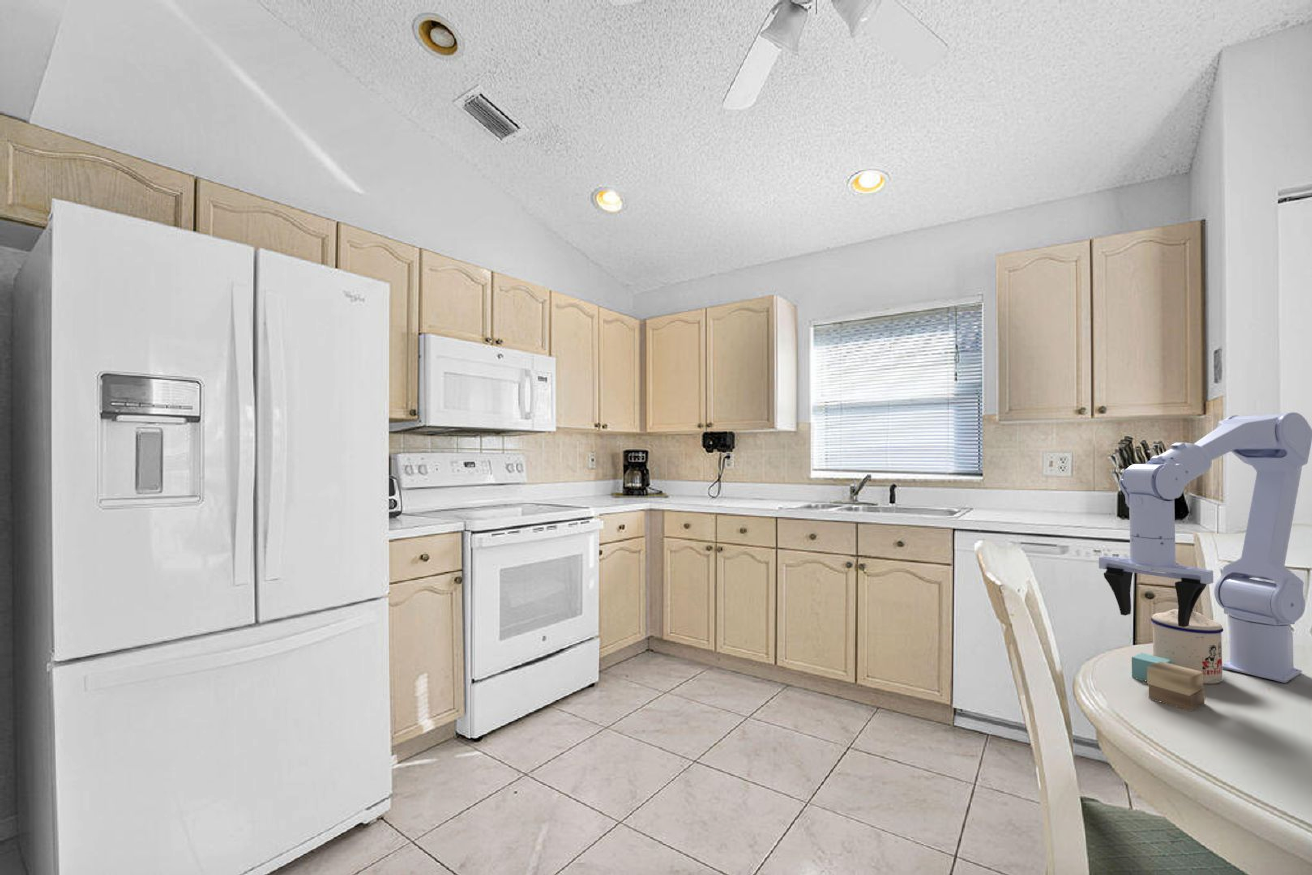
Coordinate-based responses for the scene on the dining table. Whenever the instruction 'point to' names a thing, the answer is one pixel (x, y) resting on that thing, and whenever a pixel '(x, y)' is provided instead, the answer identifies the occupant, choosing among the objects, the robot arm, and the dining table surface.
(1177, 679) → the oak slab upper
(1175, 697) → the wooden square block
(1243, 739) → the dining table surface
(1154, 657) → the teal block
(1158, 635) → the ceramic jar
